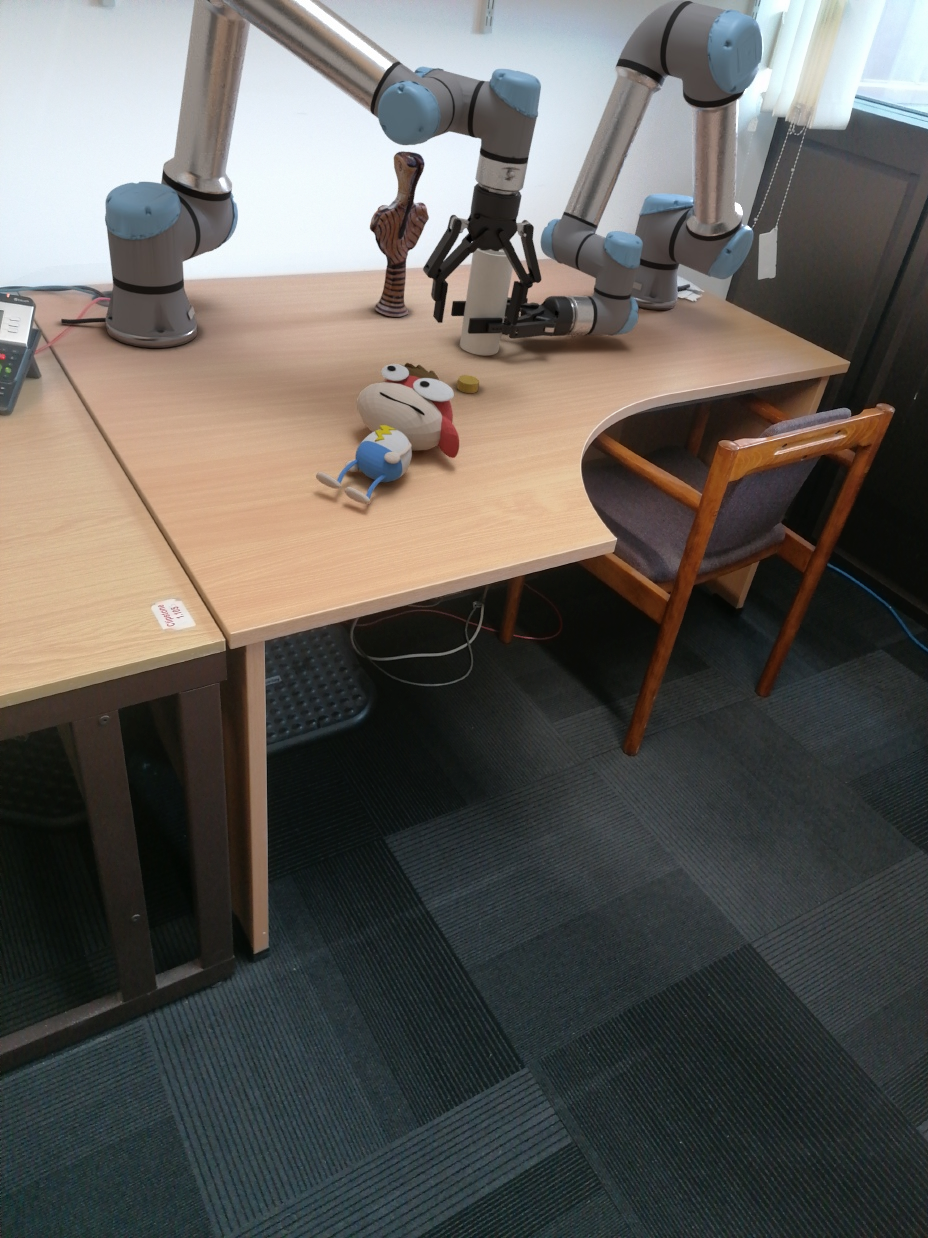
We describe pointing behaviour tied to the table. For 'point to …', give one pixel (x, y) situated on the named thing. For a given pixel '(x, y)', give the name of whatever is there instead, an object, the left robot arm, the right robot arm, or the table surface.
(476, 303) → the bottle
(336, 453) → the table surface
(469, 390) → the cap
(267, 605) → the table surface
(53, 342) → the table surface
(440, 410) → the toy
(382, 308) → the figurine
